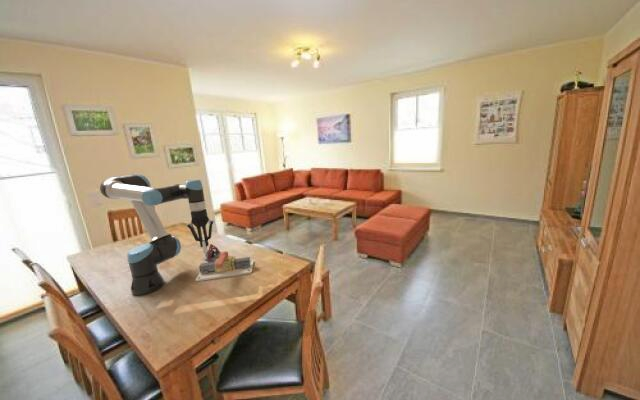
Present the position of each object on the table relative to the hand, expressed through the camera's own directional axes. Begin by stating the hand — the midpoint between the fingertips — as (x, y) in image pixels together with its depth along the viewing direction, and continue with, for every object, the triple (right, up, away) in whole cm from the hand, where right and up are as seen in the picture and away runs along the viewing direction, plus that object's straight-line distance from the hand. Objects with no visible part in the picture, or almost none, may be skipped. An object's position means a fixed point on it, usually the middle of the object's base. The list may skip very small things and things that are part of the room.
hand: (205, 252), depth 134 cm
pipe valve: (+6, -14, +14) cm, 21 cm away
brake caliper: (-5, -12, +29) cm, 31 cm away
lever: (+7, -6, +6) cm, 11 cm away
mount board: (+6, -14, +14) cm, 21 cm away
